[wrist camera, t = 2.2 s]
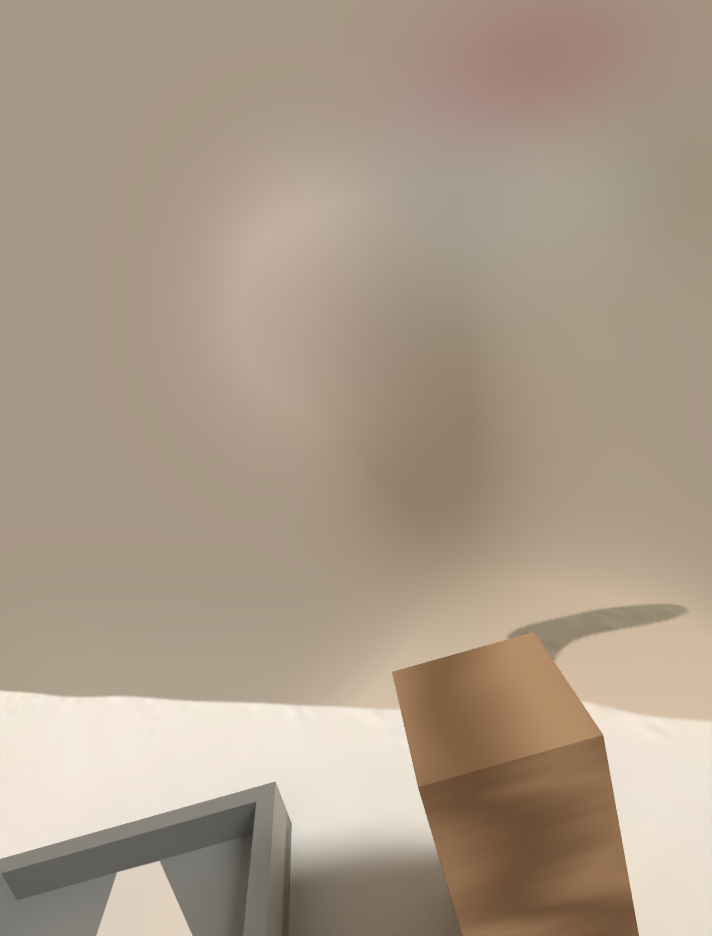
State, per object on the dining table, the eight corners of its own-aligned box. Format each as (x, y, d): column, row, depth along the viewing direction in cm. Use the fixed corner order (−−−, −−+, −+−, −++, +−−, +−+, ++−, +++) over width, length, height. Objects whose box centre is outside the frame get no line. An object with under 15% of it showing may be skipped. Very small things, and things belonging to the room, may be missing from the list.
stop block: (579, 850, 28) (533, 632, 25) (649, 993, 22) (603, 735, 19) (454, 885, 28) (392, 671, 25) (492, 1037, 22) (418, 786, 19)
